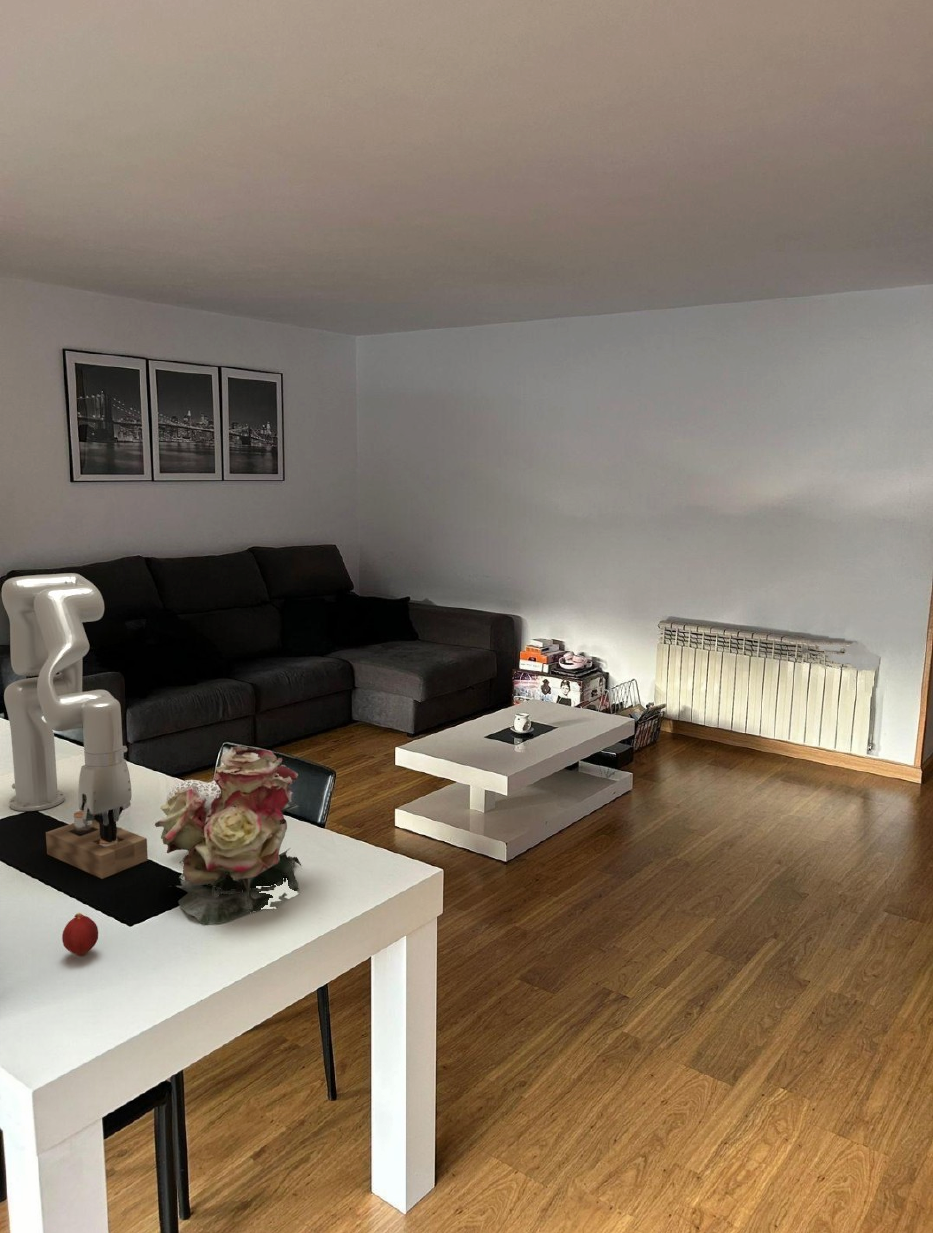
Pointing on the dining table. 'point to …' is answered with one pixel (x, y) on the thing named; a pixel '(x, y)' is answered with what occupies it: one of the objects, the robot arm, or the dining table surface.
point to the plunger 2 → (105, 843)
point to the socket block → (96, 850)
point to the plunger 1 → (81, 824)
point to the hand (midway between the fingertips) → (108, 839)
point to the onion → (80, 935)
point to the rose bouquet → (232, 836)
